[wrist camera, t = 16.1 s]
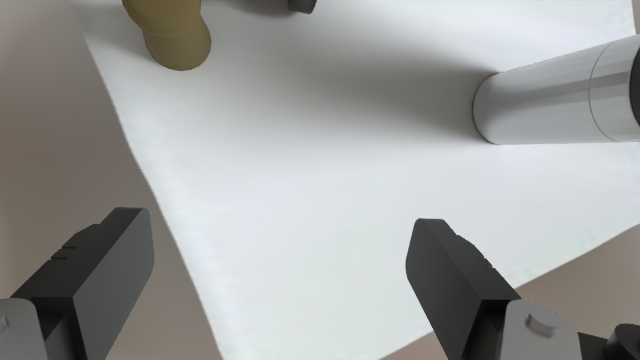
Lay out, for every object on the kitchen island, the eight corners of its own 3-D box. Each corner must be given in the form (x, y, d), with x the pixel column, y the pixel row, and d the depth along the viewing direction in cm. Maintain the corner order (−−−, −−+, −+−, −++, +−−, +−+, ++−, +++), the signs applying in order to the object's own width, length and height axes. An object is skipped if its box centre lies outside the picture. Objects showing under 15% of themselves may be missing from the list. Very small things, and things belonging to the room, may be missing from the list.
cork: (188, 83, 33) (172, 52, 23) (130, 43, 32) (84, -11, 21) (223, 35, 34) (223, -17, 23) (168, -7, 32) (142, -84, 22)
